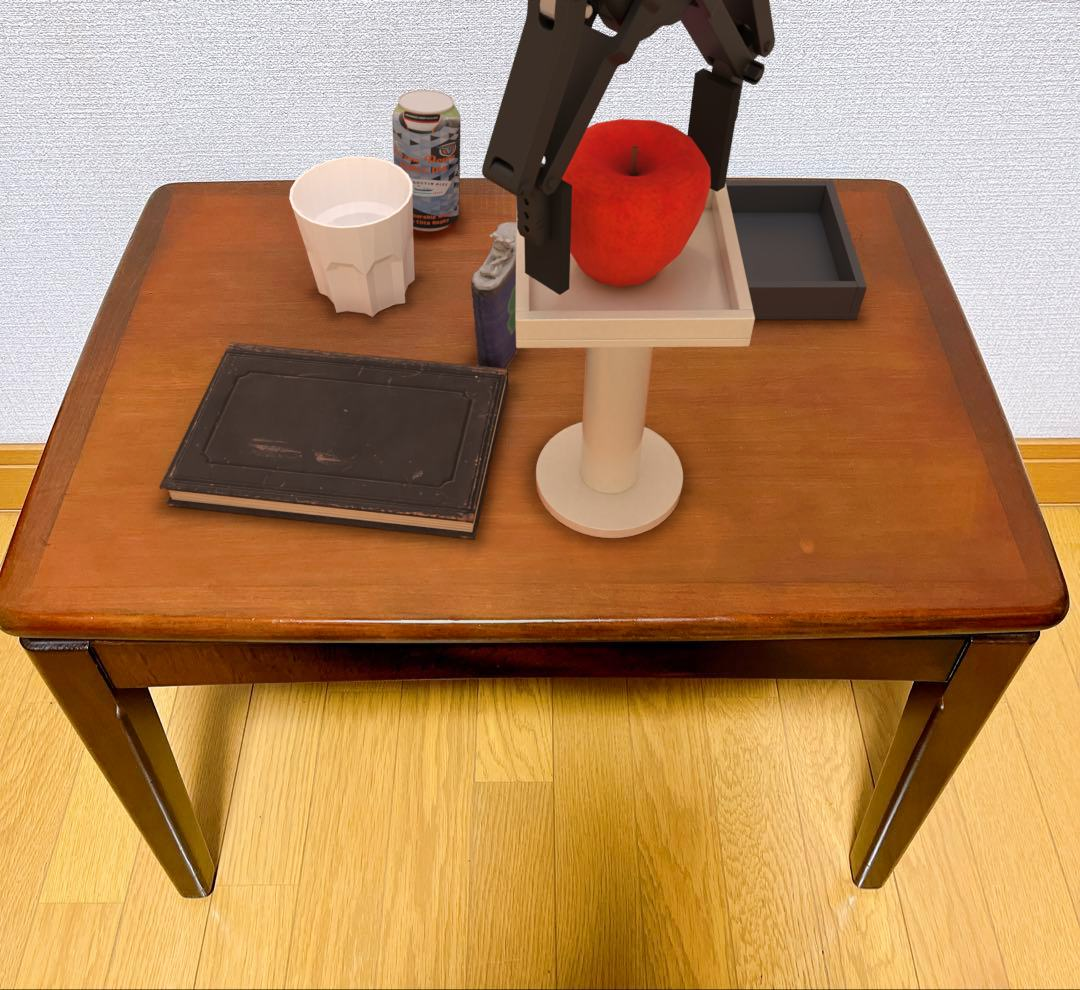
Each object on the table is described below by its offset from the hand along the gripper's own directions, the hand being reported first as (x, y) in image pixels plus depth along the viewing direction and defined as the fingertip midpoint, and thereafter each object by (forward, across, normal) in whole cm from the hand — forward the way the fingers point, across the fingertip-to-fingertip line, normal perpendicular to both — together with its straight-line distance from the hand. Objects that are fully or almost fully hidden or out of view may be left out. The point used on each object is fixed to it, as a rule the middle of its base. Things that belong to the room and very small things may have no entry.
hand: (629, 228), depth 59 cm
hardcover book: (+23, +12, -17) cm, 31 cm away
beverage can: (+23, -12, -34) cm, 43 cm away
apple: (+3, 0, 0) cm, 3 cm away
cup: (+23, -2, -31) cm, 38 cm away
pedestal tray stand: (+23, 0, 0) cm, 23 cm away
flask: (+23, -5, -17) cm, 29 cm away
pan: (+23, -29, -8) cm, 37 cm away
